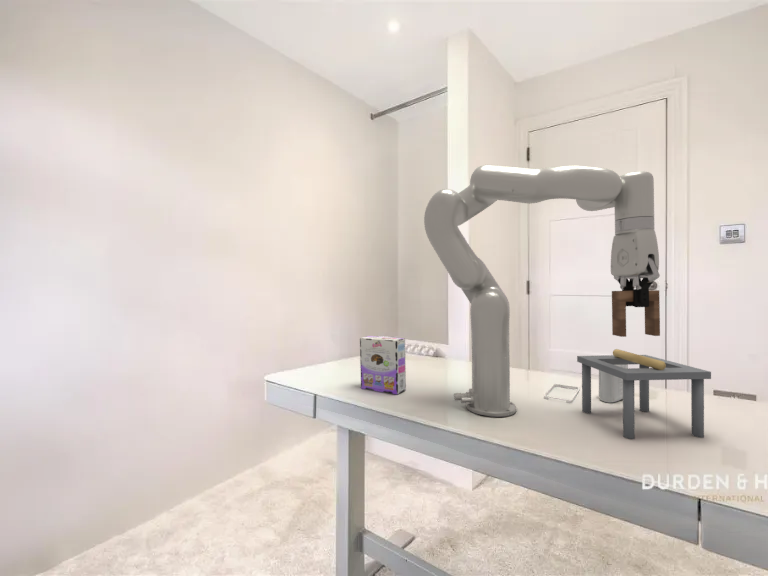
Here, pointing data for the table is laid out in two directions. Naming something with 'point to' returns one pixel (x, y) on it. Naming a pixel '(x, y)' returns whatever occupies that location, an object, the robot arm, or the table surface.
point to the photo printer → (610, 386)
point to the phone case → (562, 387)
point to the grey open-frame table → (644, 384)
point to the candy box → (383, 364)
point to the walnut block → (620, 313)
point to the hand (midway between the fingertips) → (635, 305)
